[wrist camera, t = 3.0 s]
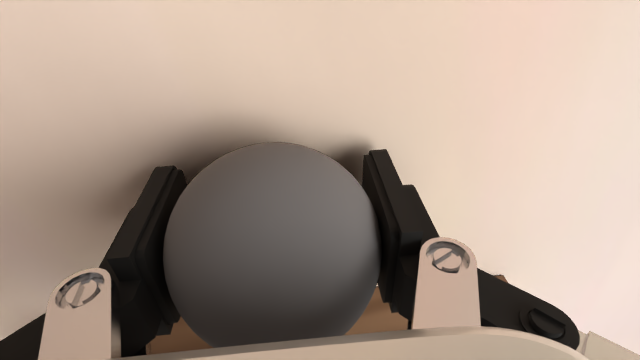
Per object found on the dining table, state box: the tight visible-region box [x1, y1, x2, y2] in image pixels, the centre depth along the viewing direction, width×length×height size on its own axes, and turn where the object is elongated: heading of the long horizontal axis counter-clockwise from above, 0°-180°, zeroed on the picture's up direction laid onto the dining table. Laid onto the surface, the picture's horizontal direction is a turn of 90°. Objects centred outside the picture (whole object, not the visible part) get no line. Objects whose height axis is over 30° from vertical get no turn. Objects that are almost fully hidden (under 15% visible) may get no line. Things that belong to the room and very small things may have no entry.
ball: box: [163, 142, 382, 348], centre depth 10 cm, size 6×6×6 cm
